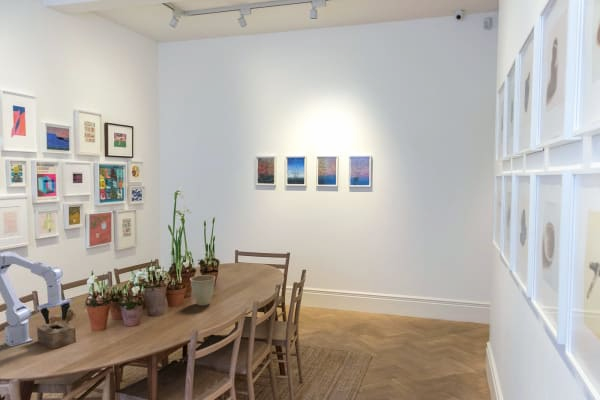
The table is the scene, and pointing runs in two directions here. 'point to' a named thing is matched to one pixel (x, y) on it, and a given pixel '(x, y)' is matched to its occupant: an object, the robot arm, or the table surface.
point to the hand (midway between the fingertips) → (55, 321)
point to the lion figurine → (69, 317)
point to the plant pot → (202, 288)
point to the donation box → (56, 334)
